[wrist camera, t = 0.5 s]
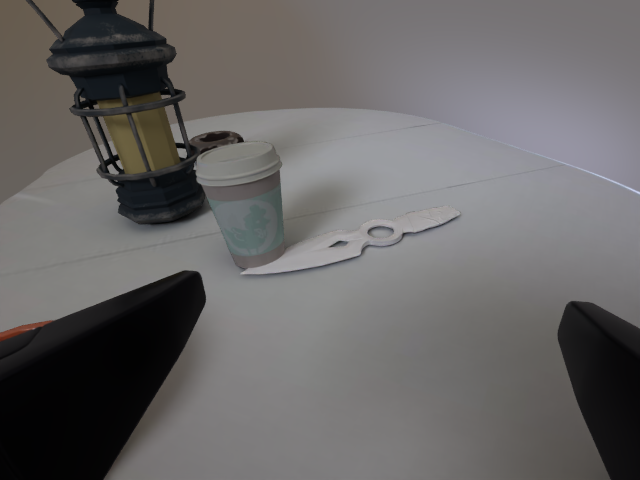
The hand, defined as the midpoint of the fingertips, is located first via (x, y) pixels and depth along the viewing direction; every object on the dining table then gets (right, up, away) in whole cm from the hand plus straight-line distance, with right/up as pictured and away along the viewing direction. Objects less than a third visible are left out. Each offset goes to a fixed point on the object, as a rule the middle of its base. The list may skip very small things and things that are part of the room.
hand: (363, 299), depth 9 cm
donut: (-22, +19, +64) cm, 70 cm away
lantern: (-23, +5, +43) cm, 49 cm away
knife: (+3, +1, +32) cm, 32 cm away
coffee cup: (-8, 0, +31) cm, 32 cm away
